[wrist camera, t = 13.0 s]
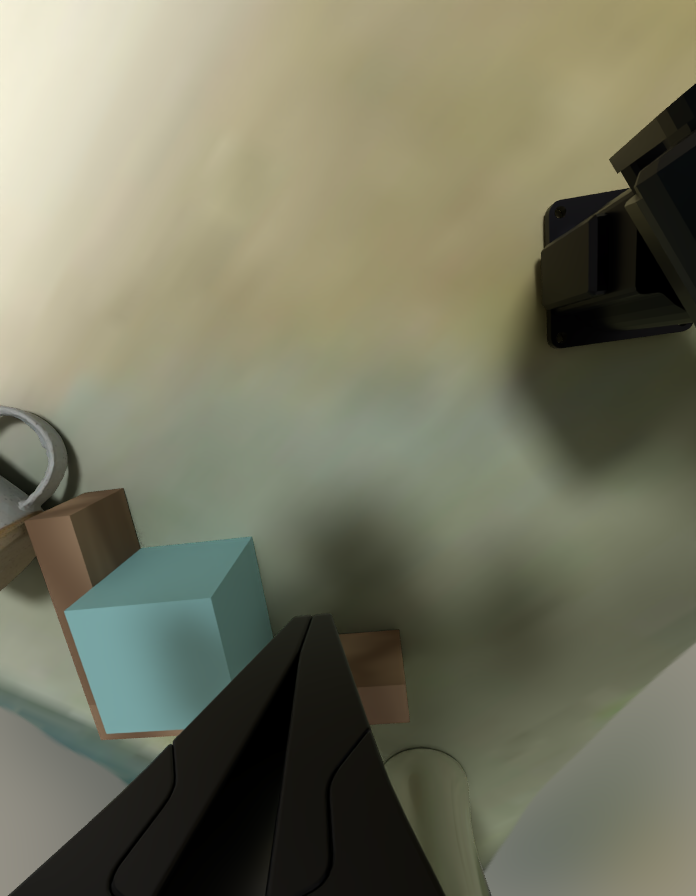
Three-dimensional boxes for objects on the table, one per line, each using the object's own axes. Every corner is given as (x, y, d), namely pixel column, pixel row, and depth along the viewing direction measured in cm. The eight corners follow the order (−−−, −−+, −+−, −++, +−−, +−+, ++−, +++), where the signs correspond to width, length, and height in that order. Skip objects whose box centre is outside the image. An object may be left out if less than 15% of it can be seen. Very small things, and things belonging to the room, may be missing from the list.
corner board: (377, 457, 20) (379, 480, 17) (403, 662, 23) (409, 722, 20) (85, 492, 22) (23, 520, 18) (143, 680, 25) (101, 739, 21)
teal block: (252, 535, 22) (210, 598, 16) (273, 636, 24) (242, 725, 18) (142, 547, 23) (64, 611, 17) (169, 644, 24) (106, 733, 18)
